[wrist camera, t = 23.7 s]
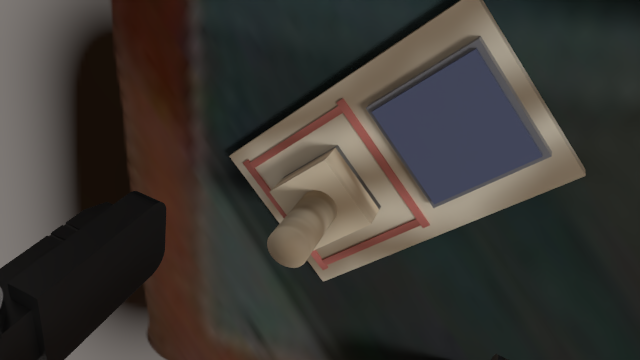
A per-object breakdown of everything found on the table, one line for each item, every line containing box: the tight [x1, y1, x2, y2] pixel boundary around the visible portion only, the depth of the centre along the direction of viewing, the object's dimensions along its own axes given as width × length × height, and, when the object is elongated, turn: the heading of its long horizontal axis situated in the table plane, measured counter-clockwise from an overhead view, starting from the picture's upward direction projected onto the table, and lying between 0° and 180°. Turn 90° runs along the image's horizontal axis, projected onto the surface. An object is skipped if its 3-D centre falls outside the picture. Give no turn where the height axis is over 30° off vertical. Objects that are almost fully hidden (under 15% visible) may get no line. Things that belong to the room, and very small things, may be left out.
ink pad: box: [366, 36, 552, 208], centre depth 36 cm, size 9×9×1 cm
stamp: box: [267, 145, 381, 268], centre depth 40 cm, size 6×6×8 cm
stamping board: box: [229, 0, 586, 282], centre depth 41 cm, size 14×24×1 cm, turn 128°
